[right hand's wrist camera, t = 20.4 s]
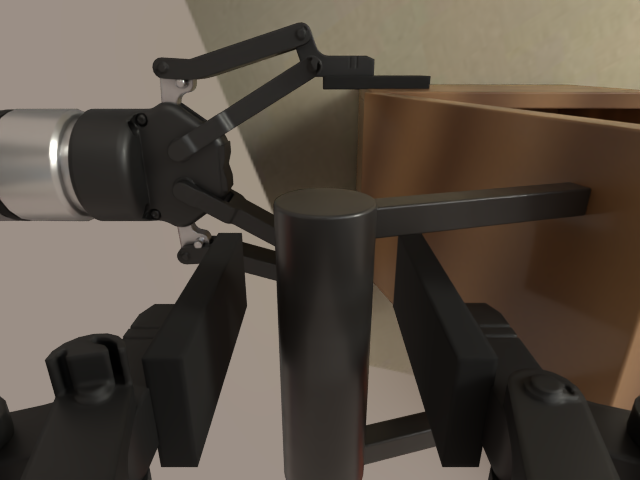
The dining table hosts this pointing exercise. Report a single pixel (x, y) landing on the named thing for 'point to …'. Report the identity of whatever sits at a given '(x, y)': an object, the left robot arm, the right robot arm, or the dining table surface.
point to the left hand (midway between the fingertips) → (417, 166)
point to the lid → (458, 261)
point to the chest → (525, 102)
